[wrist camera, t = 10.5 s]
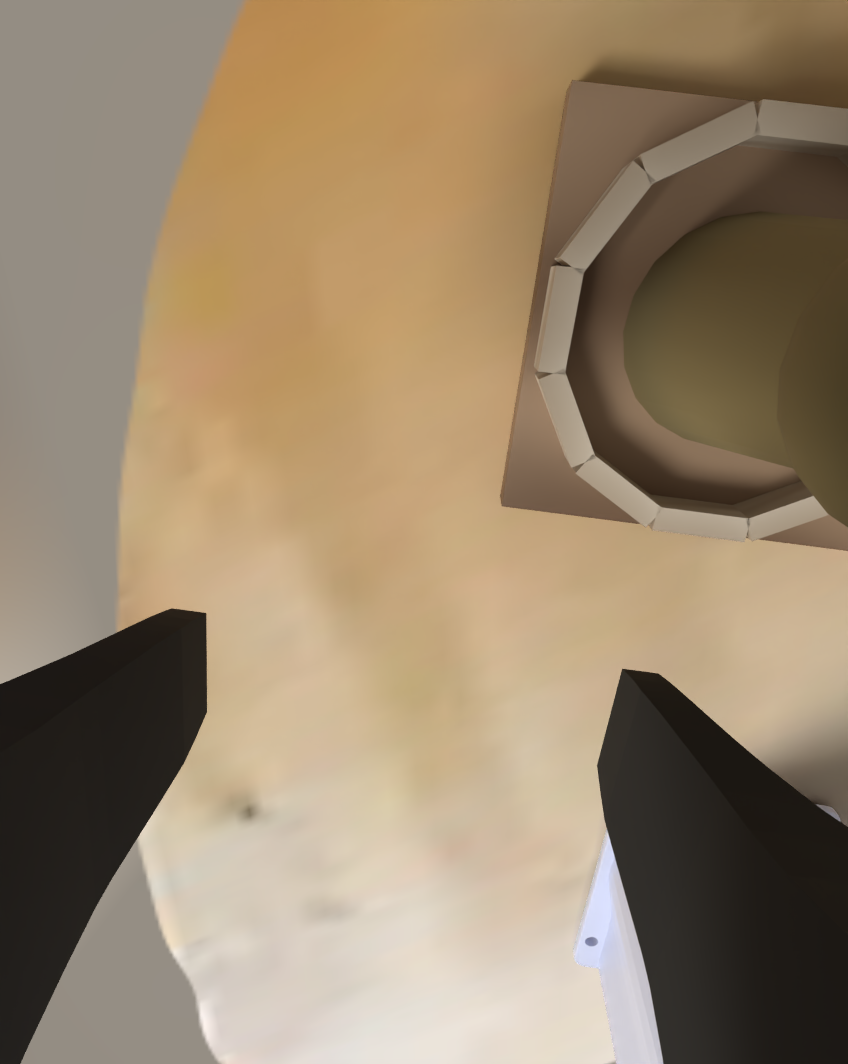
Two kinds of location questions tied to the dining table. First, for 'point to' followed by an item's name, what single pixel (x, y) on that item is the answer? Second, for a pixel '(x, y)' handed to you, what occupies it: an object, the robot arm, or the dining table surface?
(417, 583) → the dining table surface
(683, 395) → the cork
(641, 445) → the cup holder
